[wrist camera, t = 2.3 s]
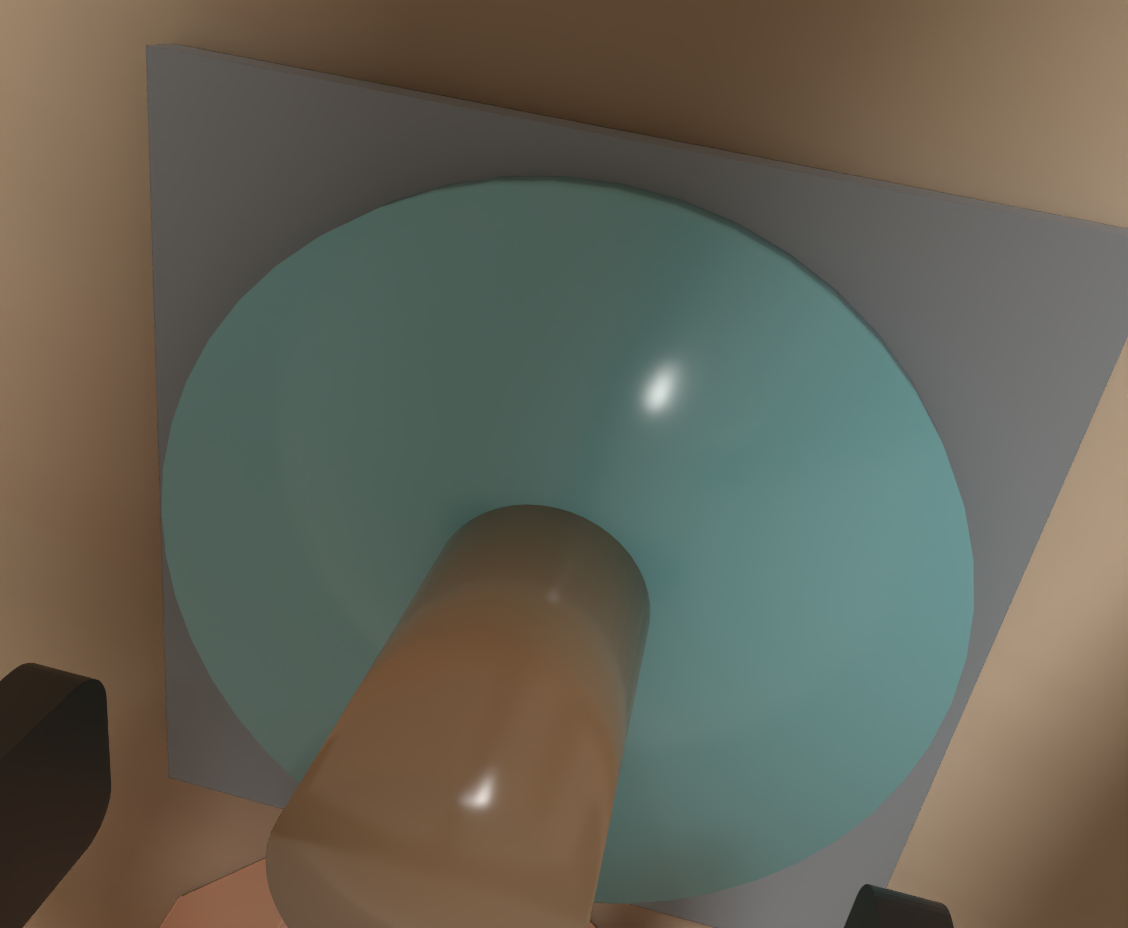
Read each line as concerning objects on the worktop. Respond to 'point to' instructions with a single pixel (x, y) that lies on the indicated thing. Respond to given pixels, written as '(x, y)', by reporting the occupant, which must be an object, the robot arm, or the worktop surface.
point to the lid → (561, 556)
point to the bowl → (230, 903)
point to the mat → (712, 182)
